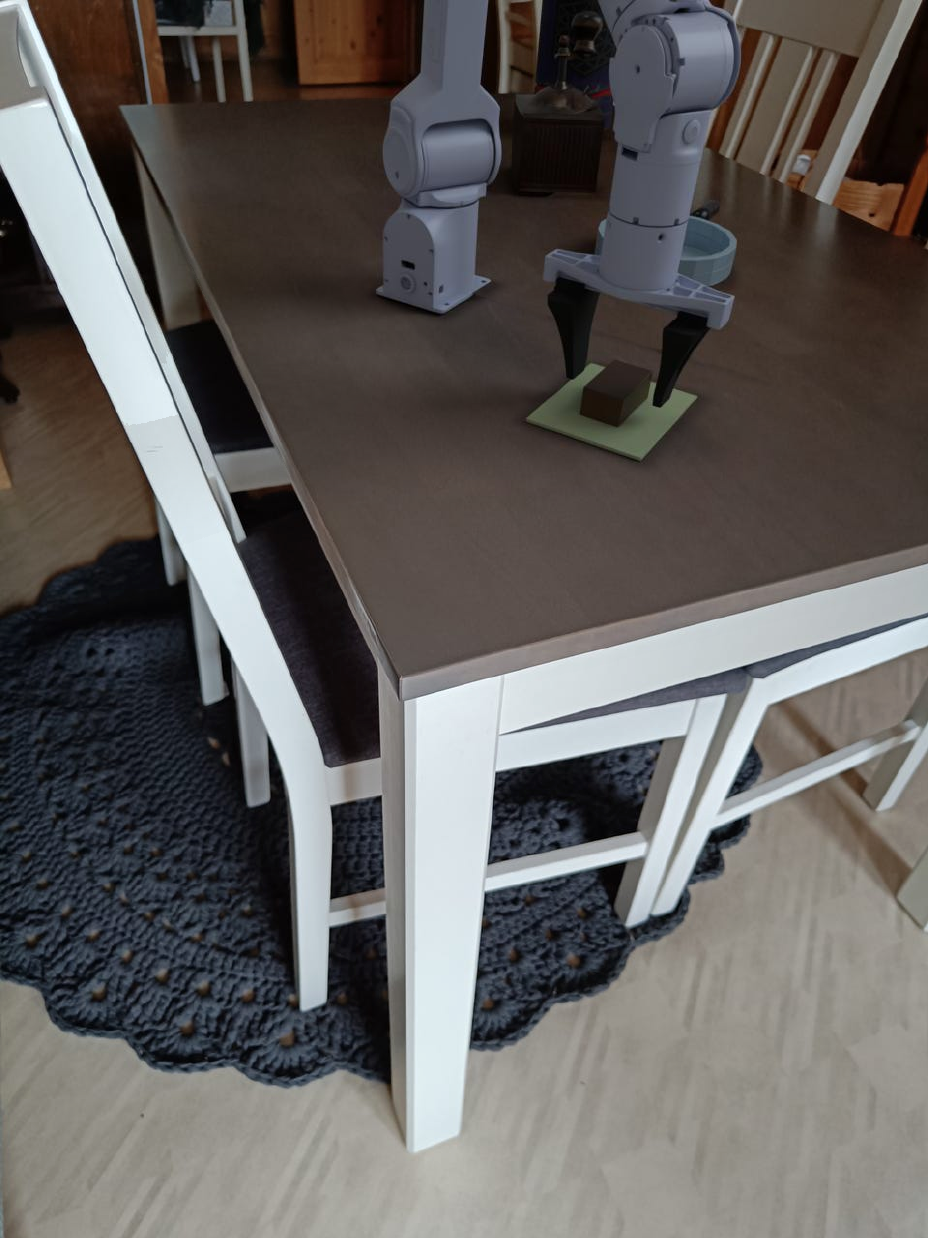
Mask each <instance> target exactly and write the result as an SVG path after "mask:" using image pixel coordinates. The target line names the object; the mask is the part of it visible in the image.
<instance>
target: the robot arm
mask: <svg viewBox="0 0 928 1238" xmlns="http://www.w3.org/2000/svg"><path fill="white" fill-rule="evenodd" d="M598 2H599V5H600V7H601V10H602V13H603V15H604V18H605V20H606V23H607V25H608V28H609V30H610V33H611V35H612V38H613V41H614V43H615V46H616V48H617V51H616V55H615V57H614V58H610V63H609V82H610V89H611V93H612V97H613V100H614V102H613V106H614V119H613V126H612V132H614V140H615V142H617V149H616V154H615V160H614V168H613V174H612V175H613V176H612V181H611V188H610V195H609V203H608V209H607V215H606V218H607V220H606V227H605V234H604V241H603V247H602V254H601V256H599V255H594V254H589V253H581V252H575V251H570V250H565V249H560V248H556V249H554V250H552V251H551V252H549V253H548V254H546V255H545V256H544V265H543V274H542V281H544V282H547V283H551V284H555V285H554V287H553V290H551V292H549V293H548V294H547V302H546V303H547V307H548V308H549V310H550V312H551V315H552V317H553V319H554V322H555V324H556V327H557V330H558V334H559V338H560V342H561V347H562V352H563V358H564V368H565V378H566V379H569V380H574V379H575V378H576V377H577V376H578V375H580V374H581V373H582V372H583V371H584V369H585V368H586V366H587V365H586V364H587V359H588V354H589V347H590V346H589V345H590V337H591V330H592V325H593V321H594V317H595V314H596V313H595V312H596V309H597V305H598V303H599V298H600V295H601V294H603V295H607V296H611V297H613V298H616V299H619V300H623V301H628V302H632V303H635V304H639V305H643V306H646V307H650V308H653V309H657V310H659V311H660V310H661V311H664V312H669V313H670V314H673V315H674V314H675V315H676V317H675V318H674V319H672V320H671V321H670V322H669V323H668V324H667V325H665V326H664V327H663V329H662V346H661V357H660V365H659V371H658V376H657V380H656V382H655V383H656V387H655V391H654V395H653V403H652V406H655V407H658V408H661V407H662V406H663V405H664V404H665V403H666V402H667V401H668V400H669V399H670V396H671V393H672V390H673V389H675V385H676V384H677V381H678V379H679V377H680V375H681V373H682V371H683V369H684V367H685V366H686V365H687V363H688V361H689V359H690V358H691V357H692V355H693V353H694V352H695V351H696V349H697V347H698V346H699V345H700V343H701V342H702V341H703V339H704V338H705V337H706V335H707V334H708V333H709V331H710V330H711V329H713V330H717V331H720V330H721V329H722V328H723V327H724V326H725V325H726V324H727V323H728V322H729V321H730V316H731V312H732V308H733V304H734V301H735V295H734V294H733V295H732V294H729V293H726V292H723V291H720V290H717V289H715V288H712V287H711V286H706V285H703V284H701V283H699V282H697V281H694V280H692V279H690V278H688V277H685V276H683V275H681V274H679V273H677V272H678V267H679V262H680V258H681V253H682V248H683V243H684V238H685V234H686V229H687V224H688V219H689V215H690V214H691V210H692V206H693V205H692V204H693V200H694V194H695V190H696V186H697V180H698V175H699V170H700V166H701V161H702V157H703V152H704V147H705V144H706V143H705V142H706V137H707V133H708V128H709V122H710V117H711V114H712V111H714V110H715V109H718V108H719V107H721V106H722V105H723V104H724V103H725V102H726V101H727V100H728V98H729V97H730V95H731V94H732V92H733V90H734V88H735V87H736V84H737V81H738V78H739V74H740V70H741V62H742V48H741V47H742V46H741V41H740V36H739V34H738V30H737V22H736V20H735V18H734V16H732V15H731V14H730V13H729V12H728V11H727V10H725V9H724V8H721V7H717V6H714V5H712V3H711V1H710V0H598ZM488 6H489V0H424V2H423V21H422V39H421V59H420V60H421V61H420V73H419V74H418V75H417V76H416V77H415V78H414V79H413V80H412V81H411V82H410V83H408V84H407V85H406V86H405V87H404V88H403V89H402V90H401V91H399V93H398V94H396V95H395V96H394V97H393V99H392V100H391V101H390V111H389V119H388V125H387V128H386V132H385V135H384V137H383V142H382V163H383V168H384V171H385V175H386V178H387V181H388V183H389V184H390V186H391V187H392V188H393V190H394V191H395V193H396V194H397V195H399V196H400V197H401V198H402V199H401V202H400V205H399V207H398V209H397V210H396V211H395V212H394V213H392V215H390V216H389V217H388V219H387V220H386V222H385V223H384V227H383V230H382V284H381V286H379V287H377V288H376V289H375V294H376V295H379V296H381V297H385V298H388V299H391V300H395V301H397V302H401V303H404V304H407V305H411V306H413V307H417V308H420V309H423V310H426V311H430V312H433V313H436V314H439V315H440V314H441V315H442V314H446V313H447V312H449V311H450V310H452V309H454V308H455V307H456V306H459V305H460V304H461V303H463V302H465V301H466V300H468V299H470V298H471V297H474V295H476V293H475V292H477V291H478V290H479V289H481V288H483V287H484V286H487V284H489V283H491V281H492V280H491V279H490V278H488V277H483V276H480V275H476V258H477V257H476V255H477V239H478V222H479V221H478V220H479V203H480V198H483V197H486V196H487V186H488V185H491V184H492V183H493V182H494V180H495V179H496V177H497V175H498V173H499V170H500V166H501V161H502V142H501V137H500V123H499V122H500V111H501V108H500V105H499V104H498V103H497V101H496V100H495V98H494V97H493V96H492V95H491V94H490V93H489V92H488V91H487V90H486V89H485V88H484V86H483V85H481V80H482V79H481V78H482V69H483V57H484V48H485V38H486V28H487V17H488V8H489V7H488Z"/></svg>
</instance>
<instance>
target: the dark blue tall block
mask: <svg viewBox="0 0 928 1238" xmlns="http://www.w3.org/2000/svg"><path fill="white" fill-rule="evenodd" d="M540 10H541V12H540V22H539V33H538V34H539V35H538V46H537V55H536V56H537V57H536V65H535V66H536V67H535V79H534V81H535V82H534V83H535V84H536V85H534V89H533V91H534V92H533V94H536V93H537V92H539V91H540V90H542V89H544V88H546V87H548V86H553V85H555V84H556V82H557V80H558V70H559V61H557V60H556V59H555V54H558V53H559V51H558V49H559V48H560V45H559V39H560V37H561V36H563V35H567V36H569V39H570V42H569V46H568V49H569V51H570V53H574V51H573V50H574V48H575V46H576V43H577V38H576V35H575V33H574V31H573V29H572V21H573V19H574V17H575V15H577V14H578V13H580V12H581V11H592V12H596V13H597V14H598V15H599V16H600V17H601V18H602V22H603V27H602V31H601V32H600V33H599V34H598V36H597V37H596V39H595V41H594V47H595V50H596V53H595V54H589V55H588V56H587V57H585V59H584V60H583V59H582V58H581V57H579V58H576V59H573V60H570V61H567V64H566V76H565V82H566V84H567V85H568V84H571V85H572V86H574V87H576V88H577V89H579V90H581V91H583V92H584V90H585V89H586V87H587V86H588V85H589V89H588V92H587V93H586V95H587V96H593V97H594V98H595V99H596V100H597V101H598V105H599V107H600V108H601V110H602V112H603V114H604V117H605V126H604V132H606V131H607V130H609V128H610V127H611V122H612V116H613V108H614V100H613V97H612V93H611V89H610V82H609V63H610V58H614V57H615V55H616V51H617V48H616V46H615V43H614V41H613V38H612V35H611V33H610V30H609V28H608V25H607V23H606V20H605V18H604V15H603V13H602V10H601V7H600V5H599V2H598V0H542V1H541V9H540Z"/></svg>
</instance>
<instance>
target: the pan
mask: <svg viewBox="0 0 928 1238" xmlns="http://www.w3.org/2000/svg"><path fill="white" fill-rule="evenodd" d="M606 220H607V217H606V218H604V219H603V220H601V221H600V223H599V226H598V228H597V232H596V233H597V234H596V240H595V248H594V253H593V255H599V256H601V254H602V247H603V241H604V234H605V227H606ZM737 244H738V240H737V237H735V236H734V234H733V233H732V232H731V231H730V230H728V229H726V228H725V227H723V226H722V225H720V224H719V223H716V222H712V221H711V220H709V221H708V220H705V219H701V218H698V217H694V216H690V215H689V219H688V224H687V229H686V234H685V238H684V243H683V248H682V253H681V258H680V262H679V267H678V272H677V273H679V274H681V275H683V276H685V277H688V278H690V279H692V280H694V281H697V282H699V283H701V284H703V285H706V286H708V287H711V286H714V285H717V284H719V283H722V282H723V281H725V280H726V279H727V278H728V277H729V276H730V275H731V271H732V268H733V264H734V260H735V255H736V251H737V248H738V247H737V246H738V245H737Z"/></svg>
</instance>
